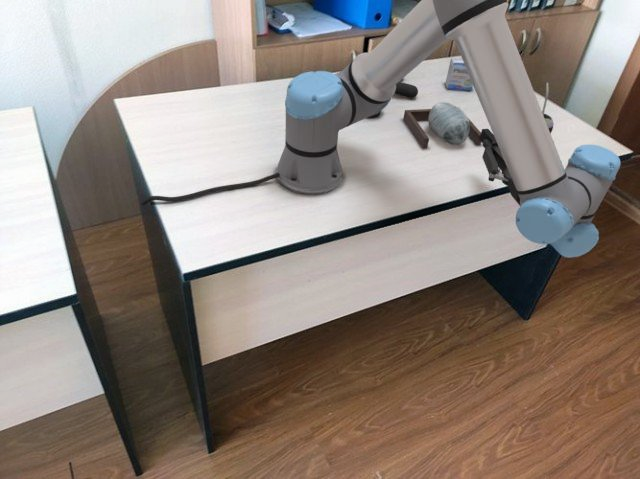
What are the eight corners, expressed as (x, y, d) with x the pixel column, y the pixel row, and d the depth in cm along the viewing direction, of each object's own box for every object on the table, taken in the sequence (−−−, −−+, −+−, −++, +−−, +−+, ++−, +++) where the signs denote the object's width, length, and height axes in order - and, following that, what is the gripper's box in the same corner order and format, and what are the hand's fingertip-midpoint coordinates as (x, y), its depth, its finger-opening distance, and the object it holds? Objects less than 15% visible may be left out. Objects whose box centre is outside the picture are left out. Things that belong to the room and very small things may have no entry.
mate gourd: (533, 153, 134) (554, 100, 124) (510, 139, 139) (528, 87, 129) (551, 146, 137) (573, 94, 127) (528, 133, 142) (547, 82, 132)
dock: (422, 148, 132) (425, 138, 130) (403, 119, 144) (404, 110, 142) (480, 145, 135) (483, 135, 134) (456, 117, 147) (459, 107, 145)
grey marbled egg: (481, 138, 132) (470, 104, 127) (448, 155, 132) (436, 122, 127) (459, 124, 143) (448, 92, 139) (429, 140, 144) (417, 109, 139)
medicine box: (446, 89, 161) (453, 62, 155) (444, 83, 164) (451, 57, 158) (471, 91, 161) (479, 64, 155) (469, 85, 164) (476, 58, 158)
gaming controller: (394, 84, 167) (371, 69, 162) (405, 69, 164) (382, 53, 159) (409, 107, 155) (385, 92, 150) (422, 92, 152) (397, 76, 147)
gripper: (500, 211, 102) (453, 149, 119) (558, 206, 105) (504, 146, 122) (512, 181, 97) (461, 120, 114) (572, 176, 100) (513, 118, 117)
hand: (483, 134), depth 118 cm, fingers closed
